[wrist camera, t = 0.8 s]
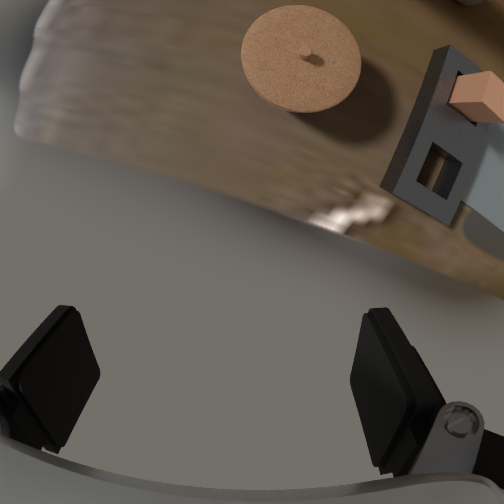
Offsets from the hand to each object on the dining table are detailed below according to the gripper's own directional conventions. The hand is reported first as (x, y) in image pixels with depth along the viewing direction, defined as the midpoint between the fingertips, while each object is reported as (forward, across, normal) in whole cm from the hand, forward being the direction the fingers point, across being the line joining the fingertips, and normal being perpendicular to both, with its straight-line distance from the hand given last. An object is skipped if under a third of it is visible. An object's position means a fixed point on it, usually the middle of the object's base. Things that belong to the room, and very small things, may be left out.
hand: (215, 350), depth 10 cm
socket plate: (+28, -24, -8) cm, 37 cm away
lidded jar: (+28, -5, -13) cm, 31 cm away
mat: (+28, -36, -4) cm, 46 cm away
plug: (+28, -26, -12) cm, 40 cm away
